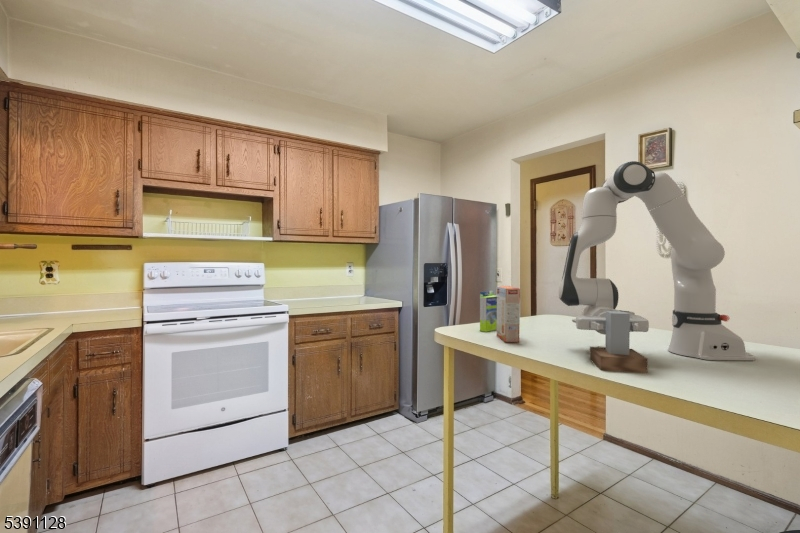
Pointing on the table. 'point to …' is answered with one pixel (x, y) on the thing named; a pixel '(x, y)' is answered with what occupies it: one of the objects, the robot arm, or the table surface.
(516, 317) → the cracker box
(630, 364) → the walnut block
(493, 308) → the box
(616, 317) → the grey block
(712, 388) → the table surface
